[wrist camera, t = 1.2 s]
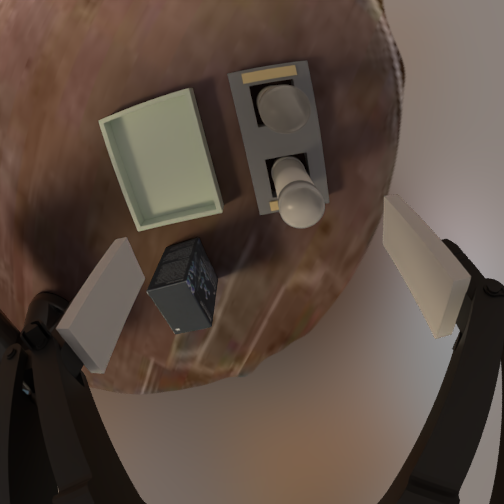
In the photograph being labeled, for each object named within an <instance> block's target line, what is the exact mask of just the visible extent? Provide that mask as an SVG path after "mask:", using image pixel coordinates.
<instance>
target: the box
mask: <svg viewBox="0 0 504 504" xmlns="http://www.w3.org/2000/svg"><path fill="white" fill-rule="evenodd" d="M217 283H218V278H217V276H216V274H215V272H214V269H213V267H212V265H211V263H210V261H209V259H208V257H207V255H206V252H205V250H204V248H203V246H202V244H201V241H200V239H199V238H195V239H192V240H189V241H185V242H182V243H179V244H176V245H172V246H169V247H166V249H165V251H164V253H163V255H162V257H161V260H160V262H159V264H158V266H157V269H156V271H155V273H154V275H153V278H152V280H151V282H150V285H149V287H148V289H147V293H148V294H149V296H150V297H151V299H152V300H153V302H154V303H155V305H156V306H157V308H158V309H159V311H160V312H161V314H162V315H163V317H164V318H165V320H166V321H167V323H168V324H169V326H170V327H171V329H172V330H173V332H174V333H175V334H180V333H185V332H190V331H195V330H200V329H205V328H209V327H212V321H213V314H214V306H215V298H216V290H217Z"/></svg>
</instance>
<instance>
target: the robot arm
mask: <svg viewBox="0 0 504 504" xmlns="http://www.w3.org/2000/svg"><path fill="white" fill-rule="evenodd" d="M383 246H384V247H385V249H386V251H387V252H388V254H389V256H390V257H391V259H392V260H393V262H394V264H395V266H396V267H397V269H398V271H399V272H400V274H401V276H402V277H403V279H404V281H405V283H406V284H407V286H408V288H409V290H410V292H411V293H412V295H413V297H414V299H415V301H416V302H417V304H418V306H419V308H420V310H421V312H422V314H423V316H424V318H425V319H426V322H427V324H428V326H429V328H430V330H431V332H432V334H433V336H434V338H435V339H437V338H441V337H444V336H448V335H451V334H452V332H453V329H454V327H455V324H457V326H458V328H459V329H460V332H459V335H458V337H457V339H456V342H455V344H454V346H453V354H452V357H451V360H450V363H449V366H448V369H447V371H446V374H445V377H444V380H443V382H442V385H441V388H440V390H439V393H438V395H437V398H436V400H435V402H434V405H433V407H432V410H431V412H430V414H429V416H428V418H427V421H426V423H425V425H424V427H423V429H422V431H421V433H420V435H419V437H418V439H417V441H416V443H415V445H414V447H413V449H412V451H411V452H410V454H409V456H408V458H407V460H406V461H405V463H404V465H403V467H402V468H401V470H400V472H399V473H398V475H397V477H396V478H395V480H394V481H393V483H392V485H391V486H390V488H389V489H388V491H387V492H386V494H385V495H384V496H383V498H382V499H381V500H380V501H379V502H378V504H459V502H460V499H459V496H458V494H459V491H460V488H461V486H462V483H463V481H464V479H465V477H466V475H467V472H468V470H469V468H470V465H471V463H472V460H473V458H474V455H475V453H476V450H477V447H478V445H479V442H480V439H481V436H482V433H483V430H484V427H485V424H486V420H487V417H488V414H489V410H490V406H491V402H492V399H493V395H494V391H495V387H496V382H497V377H498V372H499V367H500V362H501V367H502V421H501V422H502V423H501V436H500V446H499V455H498V462H497V469H496V475H495V480H494V485H493V490H492V495H491V499H490V503H489V504H504V286H503V285H502V284H501V283H500V282H498V281H496V280H494V279H489V278H487V279H485V278H484V276H483V275H482V274H481V273H480V271H479V270H478V269H477V268H476V267H475V265H474V264H473V263H472V262H471V261H470V260H469V259H468V257H467V256H466V255H465V254H464V253H463V252H462V250H461V249H460V248H459V247H458V246H457V245H456V244H455V243H453V242H452V241H450V240H448V239H444V240H441V239H440V238H439V237H438V236H437V235H436V234H435V233H434V232H433V231H432V229H431V228H430V227H429V226H428V225H427V224H426V223H425V222H424V221H423V220H422V219H421V218H420V216H419V215H418V214H417V213H416V212H415V211H414V210H413V209H412V208H411V207H410V206H409V205H408V204H407V203H406V202H405V201H404V200H403V199H402V198H401V197H400V196H399V195H398V194H396V195H387V196H384V221H383ZM144 280H145V277H144V275H143V273H142V270H141V268H140V266H139V264H138V262H137V259H136V257H135V255H134V253H133V250H132V248H131V246H130V243H129V241H128V239H127V237H125V238H120V239H115V241H114V242H113V243H112V245H111V246H110V247H109V249H108V250H107V251H106V253H105V254H104V256H103V257H102V258H101V260H100V261H99V263H98V264H97V265H96V267H95V268H94V270H93V271H92V273H91V274H90V276H89V277H88V278H87V280H86V281H85V283H84V284H83V286H82V287H81V289H80V290H79V292H78V294H77V295H76V296H75V297H74V298H73V299H72V300H71V301H70V303H69V302H67V301H66V300H64V299H63V298H61V297H59V296H57V295H54V294H51V293H40V294H37V295H36V296H35V297H34V299H33V300H32V301H31V303H30V305H29V308H28V312H27V315H26V319H25V324H24V328H23V330H22V331H21V333H20V332H19V330H18V329H17V328H16V327H15V326H14V325H13V324H12V322H11V321H10V320H9V319H8V318H7V317H6V315H5V314H4V313H3V312H2V311H1V309H0V504H146V503H145V502H144V501H143V500H142V498H141V497H140V496H139V494H138V492H137V490H136V489H135V487H134V485H133V483H132V482H131V480H130V478H129V476H128V474H127V473H126V471H125V469H124V467H123V465H122V463H121V461H120V459H119V457H118V455H117V453H116V451H115V449H114V447H113V445H112V442H111V440H110V438H109V436H108V434H107V431H106V429H105V427H104V424H103V422H102V420H101V417H100V415H99V412H98V410H97V407H96V405H95V402H94V400H93V397H92V394H91V391H90V388H89V385H88V382H87V379H86V376H85V375H84V373H83V372H82V371H81V369H82V366H83V364H84V365H85V366H86V368H87V369H88V370H89V371H90V372H91V373H103V374H104V372H105V369H106V367H107V364H108V362H109V359H110V357H111V354H112V352H113V350H114V347H115V345H116V342H117V340H118V338H119V335H120V333H121V331H122V328H123V326H124V324H125V321H126V319H127V317H128V315H129V312H130V310H131V308H132V306H133V304H134V301H135V299H136V297H137V295H138V293H139V291H140V288H141V286H142V284H143V282H144ZM57 486H58V487H57ZM58 489H59V494H58Z"/></svg>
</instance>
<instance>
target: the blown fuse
mask: <svg viewBox="0 0 504 504" xmlns="http://www.w3.org/2000/svg"><path fill="white" fill-rule="evenodd" d="M256 104H257V108H258V110H259V114H260V117H261V119H262V121H263V123H264V124H265V125H266V126H267V127H268V128H269V129H271V130H273V131H275V132H277V133H282V134H289V133H294V132H296V131H298V130H300V129H301V128H303V127H304V126H305V124H306V123H307V122H308V120H309V117H310V113H311V106H310V102H309V99H308V98H307V96H306V95H305V94H304V92H303V91H301V90H300V89H298V88H297V87H294V86H291V85H271V86H267V87H265V88H263V89H262V90H261V91H260V92H259V94H258V96H257V99H256Z"/></svg>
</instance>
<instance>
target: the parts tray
mask: <svg viewBox="0 0 504 504" xmlns="http://www.w3.org/2000/svg"><path fill="white" fill-rule="evenodd" d="M99 125H100V128H101V131H102V134H103V137H104V141H105V144H106V147H107V150H108V153H109V156H110V159H111V162H112V164H113V167H114V170H115V173H116V176H117V179H118V181H119V184H120V187H121V189H122V192H123V195H124V197H125V200H126V203H127V205H128V208H129V210H130V213H131V215H132V218H133V220H134V223H135V225H136V228H137V230H138V231H143V230H147V229H151V228H155V227H160V226H164V225H168V224H173V223H177V222H181V221H186V220H190V219H195V218H200V217H204V216H209V215H214V214H218V213H222V212H223V207H224V203H223V200H222V196H221V192H220V189H219V185H218V181H217V178H216V174H215V170H214V167H213V163H212V159H211V155H210V152H209V148H208V144H207V140H206V137H205V133H204V129H203V125H202V121H201V118H200V114H199V110H198V106H197V102H196V98H195V95H194V91H193V88H187V89H183V90H180V91H177V92H173V93H170V94H167V95H164V96H161V97H158V98H155V99H152V100H149V101H147V102H144V103H141V104H138V105H136V106H133V107H130V108H128V109H125V110H123V111H120V112H118V113H115V114H113V115H110V116H108V117H106V118H103V119H101V120H99Z"/></svg>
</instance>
